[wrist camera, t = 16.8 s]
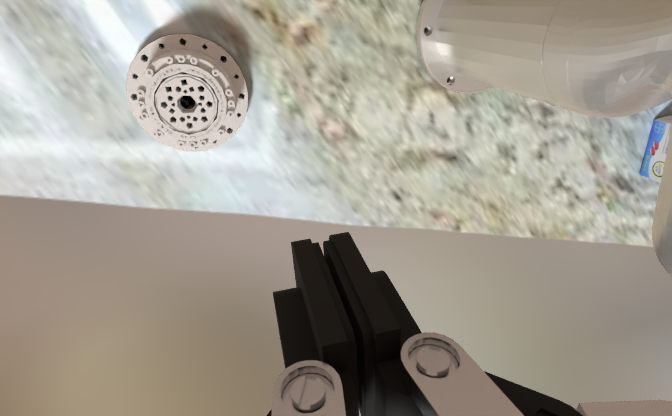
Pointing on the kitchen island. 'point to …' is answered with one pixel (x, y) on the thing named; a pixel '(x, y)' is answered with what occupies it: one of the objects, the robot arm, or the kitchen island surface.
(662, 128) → the medicine box
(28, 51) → the kitchen island surface
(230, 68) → the mechanical component
